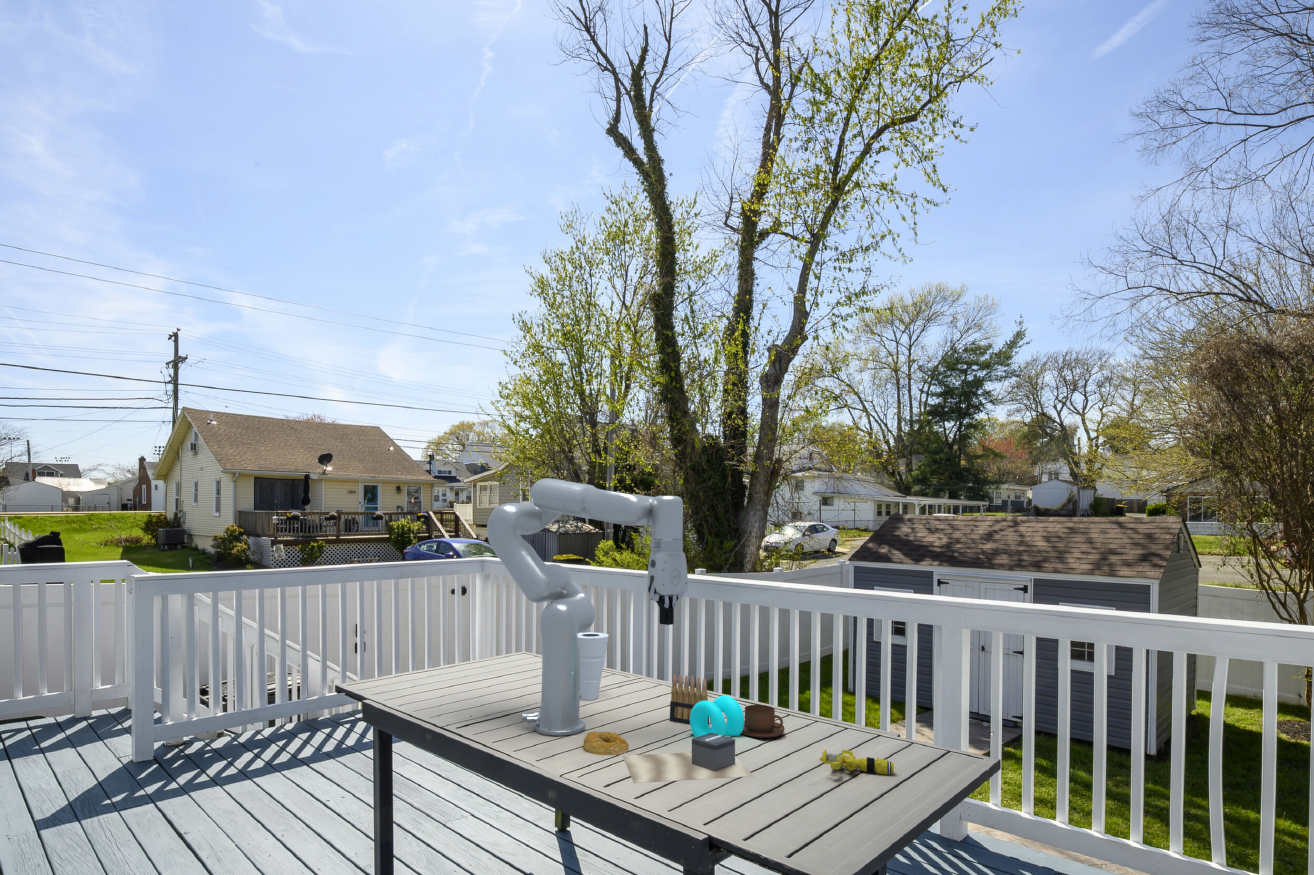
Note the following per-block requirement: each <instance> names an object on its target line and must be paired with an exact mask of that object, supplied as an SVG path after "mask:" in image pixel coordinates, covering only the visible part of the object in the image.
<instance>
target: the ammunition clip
mask: <svg viewBox="0 0 1314 875" xmlns="http://www.w3.org/2000/svg"><path fill="white" fill-rule="evenodd" d="M672 675H673V676H672V679H671V680H672V682H671V683H672V684H671V691H670V692H671V693H670V696H671V697H670V698H671V700H670V703H669V719H668V720H669V722H672V723H677V724H683V725H689V726H690V714H691V711H692V709H693V707H694V706H695V704H697V703H698V702H700V701H704V700H706V701H709V699H708V698H709V696H708V684H707V679H706V677H703V679H702V682H701V678H700V676H697V678H696V684H695V677H694V676H693V675H692V676H691V678H690V680H689V677H688V675H687V674H686V675H685V678H684V681H683V676H682V674H679V676H678V680H677V675H676V673H673V674H672ZM689 681H690V682H689ZM701 684H702V686H701ZM707 723H708V725H709V726H710V718H709V717H708V718H707Z"/></svg>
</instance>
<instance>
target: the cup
mask: <svg viewBox="0 0 1314 875" xmlns="http://www.w3.org/2000/svg"><path fill="white" fill-rule="evenodd" d="M577 636H578V642H579V646H580V700H582V701H588V702H589V701H590V702H591V701H597V700H598V698H599V692H600V687H601V681H602V676H603V671H604V666H605V659H606V653H607V647H608V642H609V634H608V633H604V632H592V631H591V632H589V631H588V632H586V631H585V632H581V633H578V634H577Z"/></svg>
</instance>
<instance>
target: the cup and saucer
mask: <svg viewBox="0 0 1314 875" xmlns="http://www.w3.org/2000/svg"><path fill="white" fill-rule="evenodd" d="M775 711H776V710H775V708H774V707H773V706H770V705H765V704H749V705H746V706H745V707H744V728H743V730H742V732H741V734H742V735H744V736H747V737H752V738H755V739H756V738H757V739H768V738H775V737H778V736H780V735H782V734H783V733H784V731H785V729H786V728H785V726H784V721H783V718H782V716H780V715H778V714H775V713H776V712H775ZM775 719H778V720H779V722H780V723H779V722H777V721H776V720H775Z"/></svg>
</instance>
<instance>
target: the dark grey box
mask: <svg viewBox="0 0 1314 875" xmlns="http://www.w3.org/2000/svg"><path fill="white" fill-rule="evenodd" d="M691 752H692V764H694V765H697V766H700V767H703V768H706V769H709V770H712V771H715V772H716V771H718V770H721V769H724V768H726V767H729V766H731V765H734V764H735V756H736V739H735V738H732V737H730V736H727V735H724V736H722V735H719V734H715V733H708V734H705V735H702V736H699V737H694V738H691Z"/></svg>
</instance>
